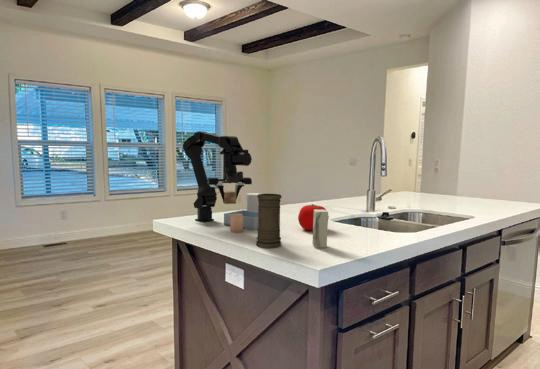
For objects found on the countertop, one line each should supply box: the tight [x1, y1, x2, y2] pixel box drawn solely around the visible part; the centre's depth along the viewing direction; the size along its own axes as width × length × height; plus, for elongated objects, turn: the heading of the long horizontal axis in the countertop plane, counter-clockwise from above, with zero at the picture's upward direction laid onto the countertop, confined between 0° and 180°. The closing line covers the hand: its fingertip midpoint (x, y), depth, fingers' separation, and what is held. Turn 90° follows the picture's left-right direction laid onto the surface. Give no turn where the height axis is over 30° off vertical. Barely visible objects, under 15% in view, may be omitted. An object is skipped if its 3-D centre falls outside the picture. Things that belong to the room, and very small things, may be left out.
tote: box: [223, 209, 258, 231], centre depth 169 cm, size 17×13×5 cm
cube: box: [222, 190, 237, 205], centre depth 166 cm, size 5×5×5 cm
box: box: [311, 209, 329, 249], centre depth 133 cm, size 5×4×13 cm
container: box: [255, 193, 282, 249], centre depth 134 cm, size 9×9×18 cm
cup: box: [245, 192, 262, 212], centre depth 185 cm, size 8×8×12 cm
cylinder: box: [230, 214, 244, 234], centre depth 155 cm, size 5×5×7 cm
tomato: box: [297, 203, 330, 232], centre depth 161 cm, size 12×13×11 cm
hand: (229, 200), depth 166 cm, fingers closed on cube, 5 cm apart
